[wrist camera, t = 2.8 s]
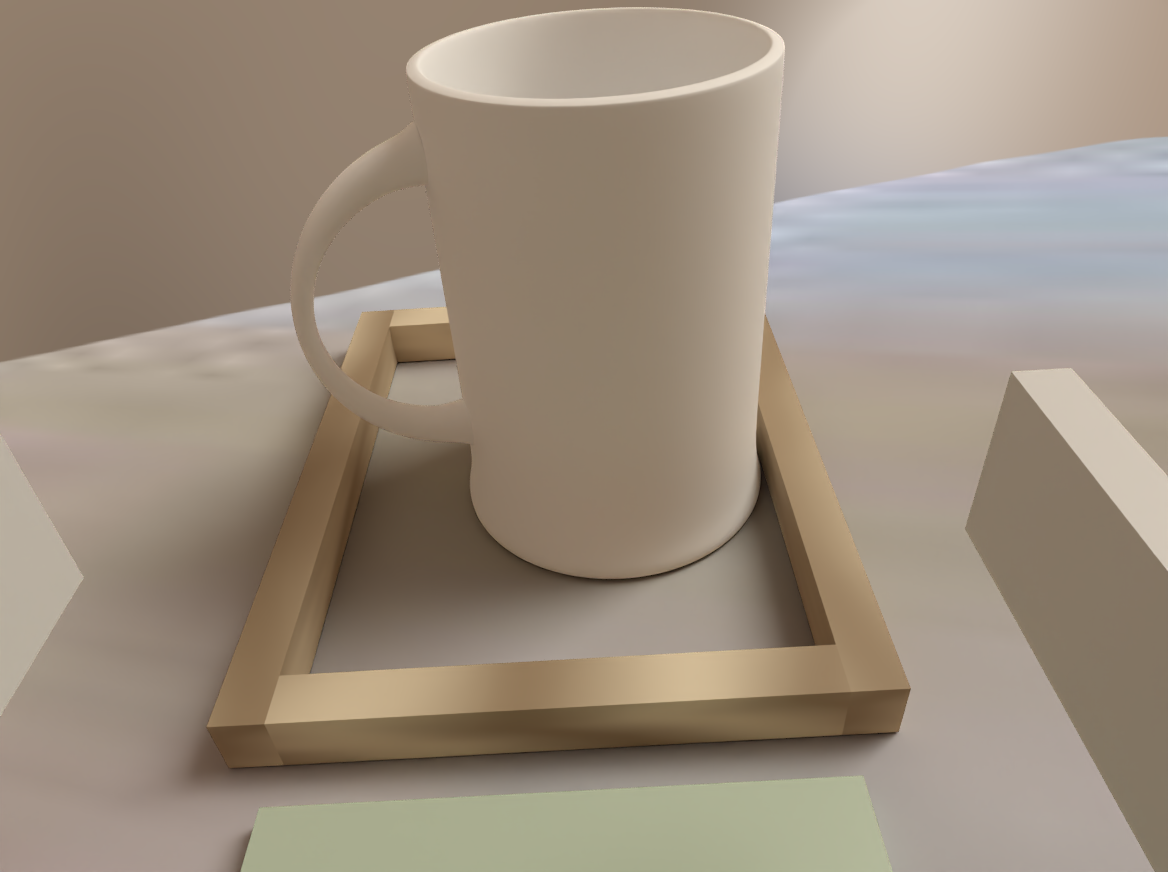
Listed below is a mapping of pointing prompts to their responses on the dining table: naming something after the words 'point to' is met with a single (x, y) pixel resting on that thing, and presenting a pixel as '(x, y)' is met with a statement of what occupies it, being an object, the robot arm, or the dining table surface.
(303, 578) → the pocket frame
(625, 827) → the coaster
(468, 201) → the mug
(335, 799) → the dining table surface
